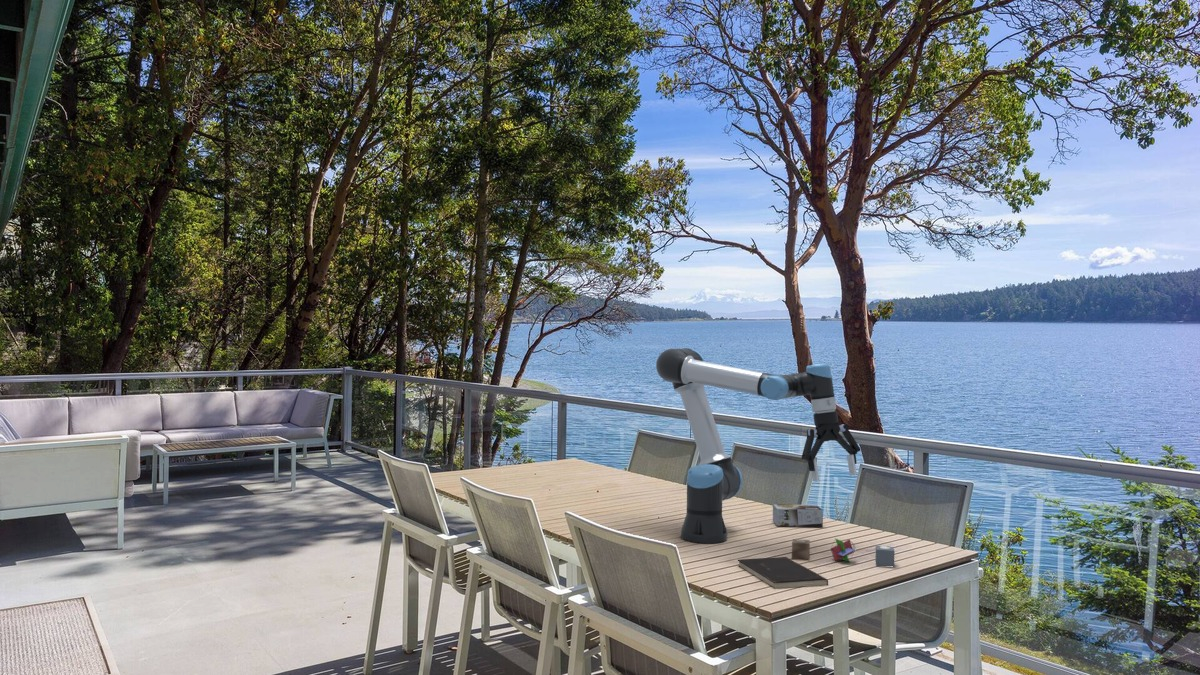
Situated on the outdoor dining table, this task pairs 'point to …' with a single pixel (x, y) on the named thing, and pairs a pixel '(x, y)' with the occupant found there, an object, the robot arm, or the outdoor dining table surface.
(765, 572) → the hardcover book
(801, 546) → the walnut dotted block
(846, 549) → the geometric puzzle
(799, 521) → the coffee box
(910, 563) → the outdoor dining table surface
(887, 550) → the charcoal dotted block
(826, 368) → the robot arm
